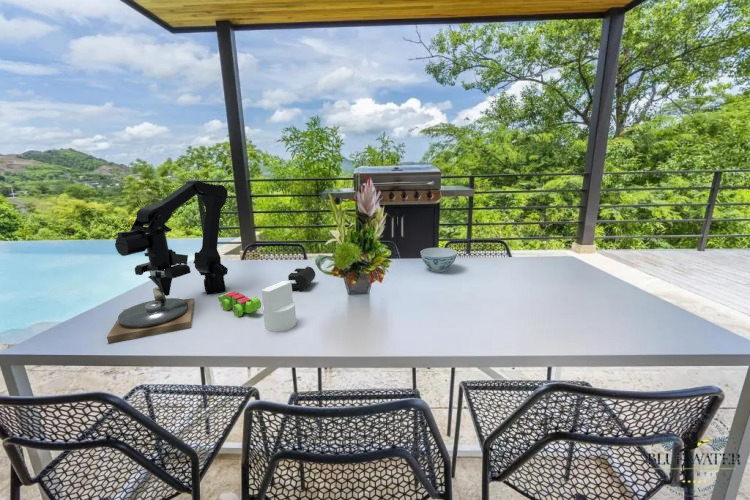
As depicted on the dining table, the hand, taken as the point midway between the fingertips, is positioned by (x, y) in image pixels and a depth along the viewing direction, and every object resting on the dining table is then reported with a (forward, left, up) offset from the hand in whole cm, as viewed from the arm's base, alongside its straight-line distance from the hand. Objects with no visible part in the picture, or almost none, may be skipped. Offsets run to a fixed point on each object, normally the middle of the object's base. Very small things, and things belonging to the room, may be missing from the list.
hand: (167, 295), depth 113 cm
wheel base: (+3, +7, -6) cm, 9 cm away
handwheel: (+3, +6, -3) cm, 8 cm away
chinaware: (-100, +6, -6) cm, 100 cm away
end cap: (-44, -1, -6) cm, 44 cm away
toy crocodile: (-21, +9, -6) cm, 23 cm away
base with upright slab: (-31, +27, -6) cm, 41 cm away
